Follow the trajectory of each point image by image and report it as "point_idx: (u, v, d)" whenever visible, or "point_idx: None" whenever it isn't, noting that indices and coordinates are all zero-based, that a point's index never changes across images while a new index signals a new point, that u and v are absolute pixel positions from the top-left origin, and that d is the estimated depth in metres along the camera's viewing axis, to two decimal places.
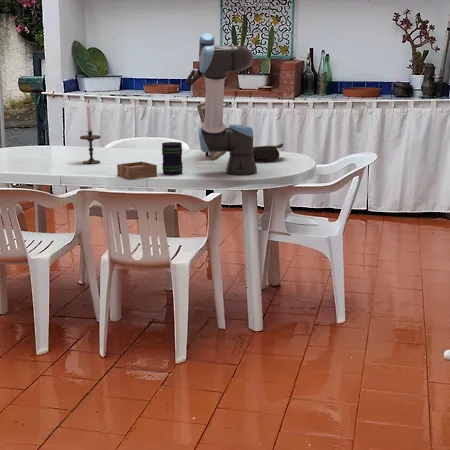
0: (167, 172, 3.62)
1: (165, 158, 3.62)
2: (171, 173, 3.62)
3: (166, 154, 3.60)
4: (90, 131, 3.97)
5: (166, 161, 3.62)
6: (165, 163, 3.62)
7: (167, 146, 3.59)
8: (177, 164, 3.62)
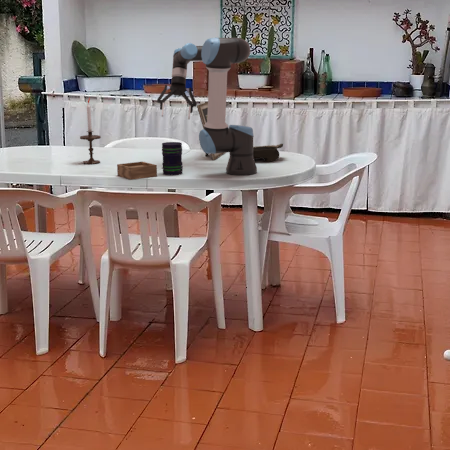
0: (167, 172, 3.62)
1: (165, 158, 3.62)
2: (171, 173, 3.62)
3: (166, 154, 3.60)
4: (90, 131, 3.97)
5: (166, 161, 3.62)
6: (165, 163, 3.62)
7: (167, 146, 3.59)
8: (177, 164, 3.62)
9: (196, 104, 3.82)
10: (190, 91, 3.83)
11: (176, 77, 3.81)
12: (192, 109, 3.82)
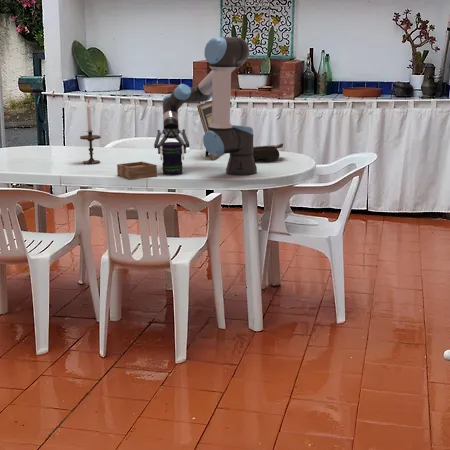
0: (167, 172, 3.63)
1: (165, 158, 3.62)
2: (171, 173, 3.62)
3: (166, 154, 3.60)
4: (90, 131, 3.97)
5: (166, 161, 3.62)
6: (165, 163, 3.62)
7: (167, 146, 3.59)
8: (177, 164, 3.62)
9: None
10: (183, 132, 3.69)
11: (168, 119, 3.70)
12: (185, 149, 3.64)
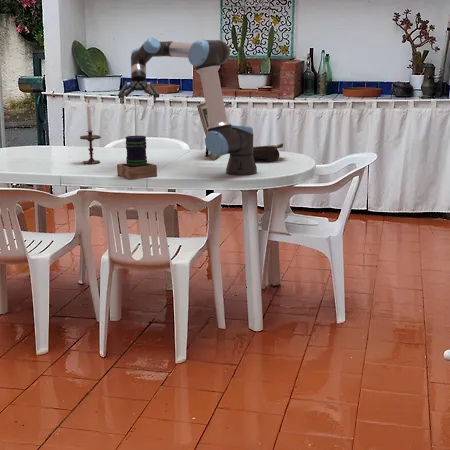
0: (131, 166, 3.56)
1: (129, 152, 3.55)
2: None
3: (130, 148, 3.54)
4: (90, 131, 3.97)
5: (130, 155, 3.55)
6: (129, 157, 3.56)
7: (130, 139, 3.53)
8: (141, 158, 3.55)
9: None
10: (151, 83, 3.73)
11: (135, 72, 3.73)
12: (155, 98, 3.69)
